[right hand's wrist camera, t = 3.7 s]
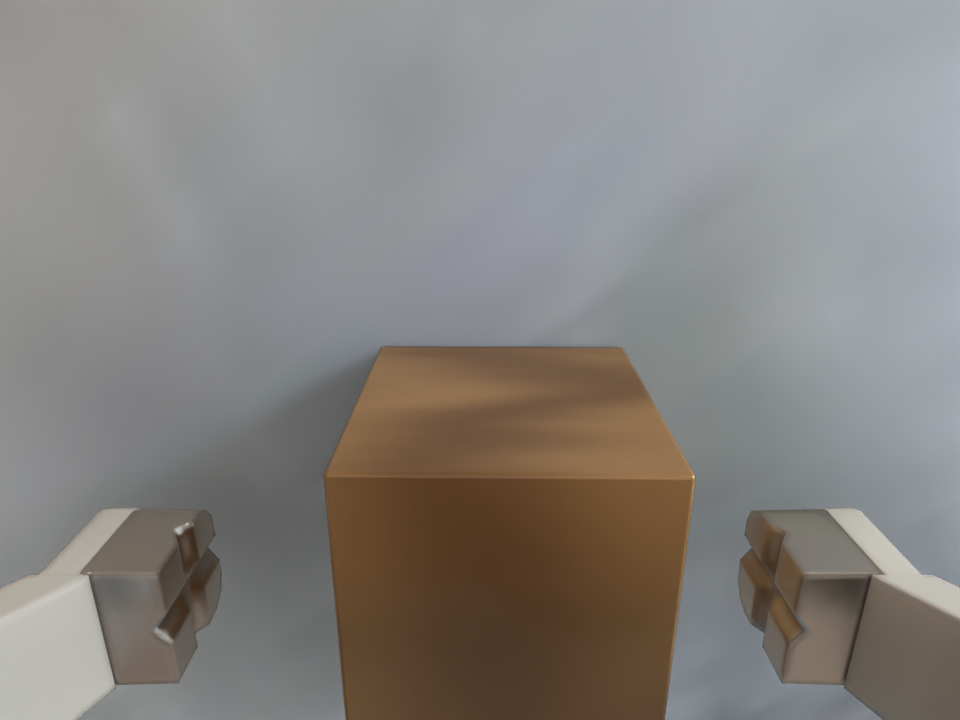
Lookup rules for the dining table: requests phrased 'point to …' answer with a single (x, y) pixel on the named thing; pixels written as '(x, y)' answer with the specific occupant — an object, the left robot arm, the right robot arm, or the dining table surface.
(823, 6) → the dining table surface
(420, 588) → the block
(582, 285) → the dining table surface
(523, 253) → the dining table surface
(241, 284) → the dining table surface
